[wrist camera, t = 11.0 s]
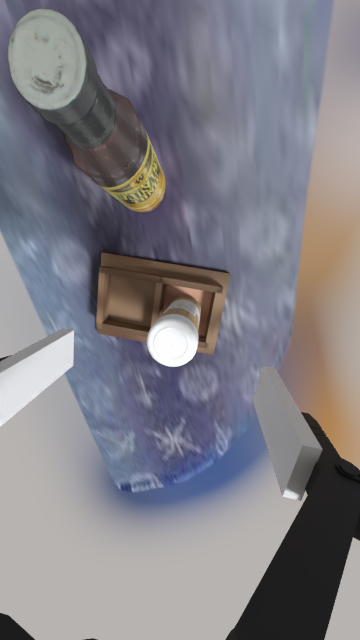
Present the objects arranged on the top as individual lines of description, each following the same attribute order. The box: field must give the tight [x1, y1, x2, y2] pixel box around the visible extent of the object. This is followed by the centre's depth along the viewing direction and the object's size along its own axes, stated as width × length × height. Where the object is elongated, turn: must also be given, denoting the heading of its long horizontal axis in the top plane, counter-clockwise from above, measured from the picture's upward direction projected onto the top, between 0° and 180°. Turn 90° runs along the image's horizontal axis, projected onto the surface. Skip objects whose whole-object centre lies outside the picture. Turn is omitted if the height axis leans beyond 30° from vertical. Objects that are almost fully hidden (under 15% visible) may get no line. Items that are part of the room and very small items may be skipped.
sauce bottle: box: [8, 9, 166, 213], centre depth 21 cm, size 6×6×20 cm
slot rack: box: [96, 253, 230, 355], centre depth 33 cm, size 12×18×3 cm, turn 81°
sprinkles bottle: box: [147, 295, 201, 367], centre depth 27 cm, size 5×5×14 cm
